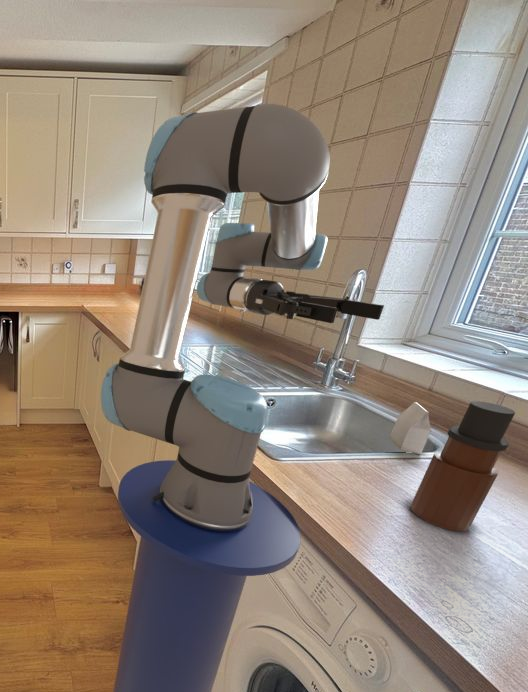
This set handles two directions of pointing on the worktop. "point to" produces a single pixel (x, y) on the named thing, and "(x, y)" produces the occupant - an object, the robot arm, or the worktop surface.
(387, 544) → the worktop surface
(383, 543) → the worktop surface
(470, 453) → the brown stepped cylinder
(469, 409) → the bung
